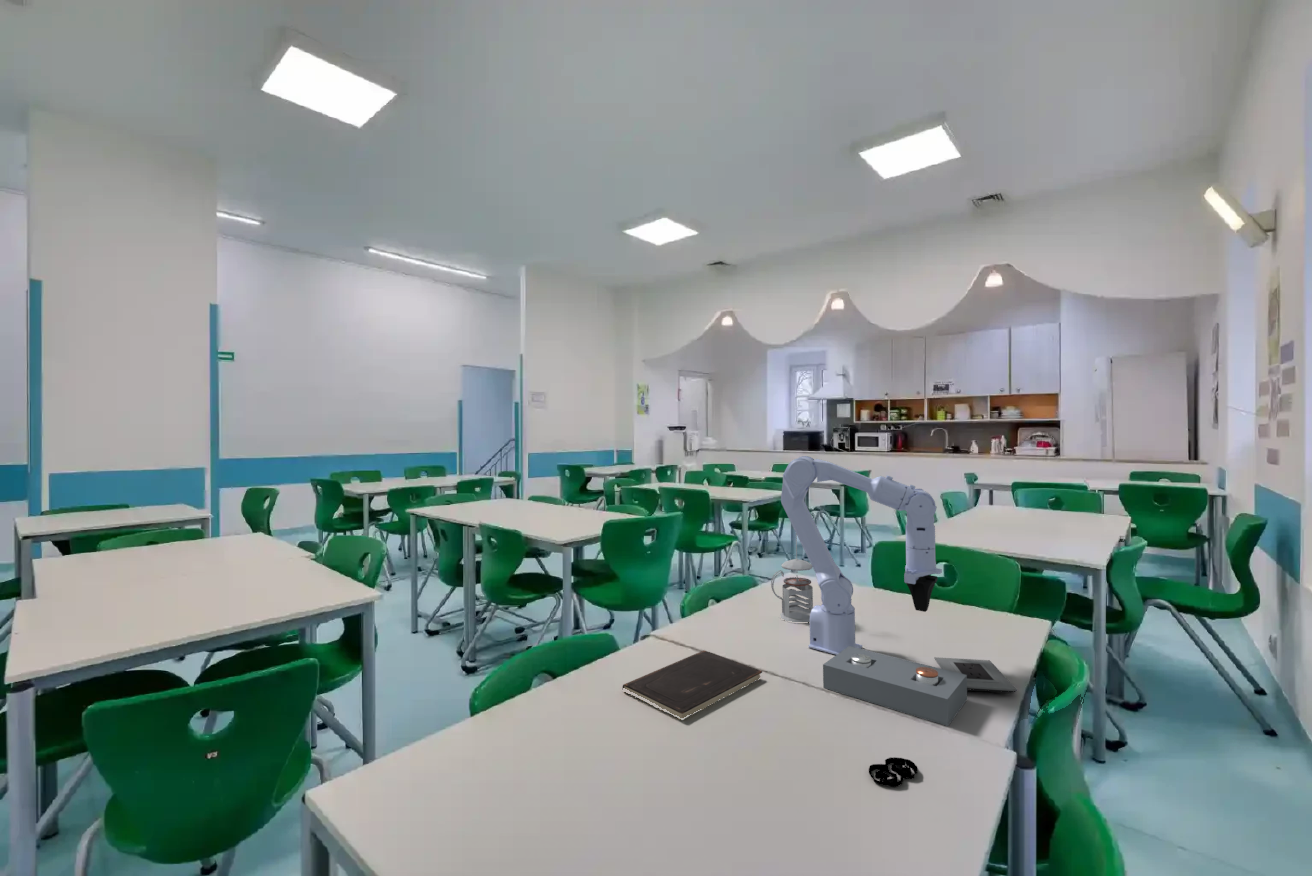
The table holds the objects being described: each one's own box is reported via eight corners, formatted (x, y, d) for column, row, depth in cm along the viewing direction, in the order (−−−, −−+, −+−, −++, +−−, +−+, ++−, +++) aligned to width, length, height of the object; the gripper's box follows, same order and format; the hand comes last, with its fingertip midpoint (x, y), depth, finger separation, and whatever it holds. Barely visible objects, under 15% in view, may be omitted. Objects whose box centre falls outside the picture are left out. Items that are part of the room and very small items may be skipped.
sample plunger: (848, 682, 110) (848, 658, 110) (856, 676, 112) (855, 652, 112) (867, 687, 107) (866, 663, 107) (874, 681, 110) (874, 657, 110)
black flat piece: (927, 776, 81) (926, 769, 81) (889, 795, 77) (889, 787, 77) (897, 759, 85) (896, 752, 85) (859, 776, 82) (859, 769, 82)
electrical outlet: (1017, 700, 103) (1017, 687, 103) (954, 696, 105) (954, 683, 105) (989, 670, 116) (989, 658, 116) (934, 667, 118) (934, 655, 118)
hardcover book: (762, 682, 113) (762, 670, 113) (682, 725, 97) (682, 712, 97) (702, 659, 125) (702, 649, 125) (622, 695, 109) (622, 683, 109)
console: (823, 687, 109) (822, 664, 109) (849, 667, 118) (849, 646, 118) (947, 726, 94) (947, 699, 94) (967, 699, 103) (966, 675, 103)
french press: (821, 623, 144) (820, 525, 144) (776, 624, 144) (774, 526, 144) (811, 611, 154) (810, 519, 154) (769, 611, 154) (767, 520, 154)
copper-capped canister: (913, 697, 102) (913, 671, 101) (919, 690, 104) (919, 665, 104) (934, 704, 99) (934, 677, 99) (941, 696, 102) (940, 670, 102)
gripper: (929, 555, 113) (930, 623, 113) (950, 543, 124) (951, 605, 124) (893, 550, 118) (894, 616, 118) (916, 539, 128) (917, 599, 128)
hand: (921, 610), depth 121 cm, fingers closed
